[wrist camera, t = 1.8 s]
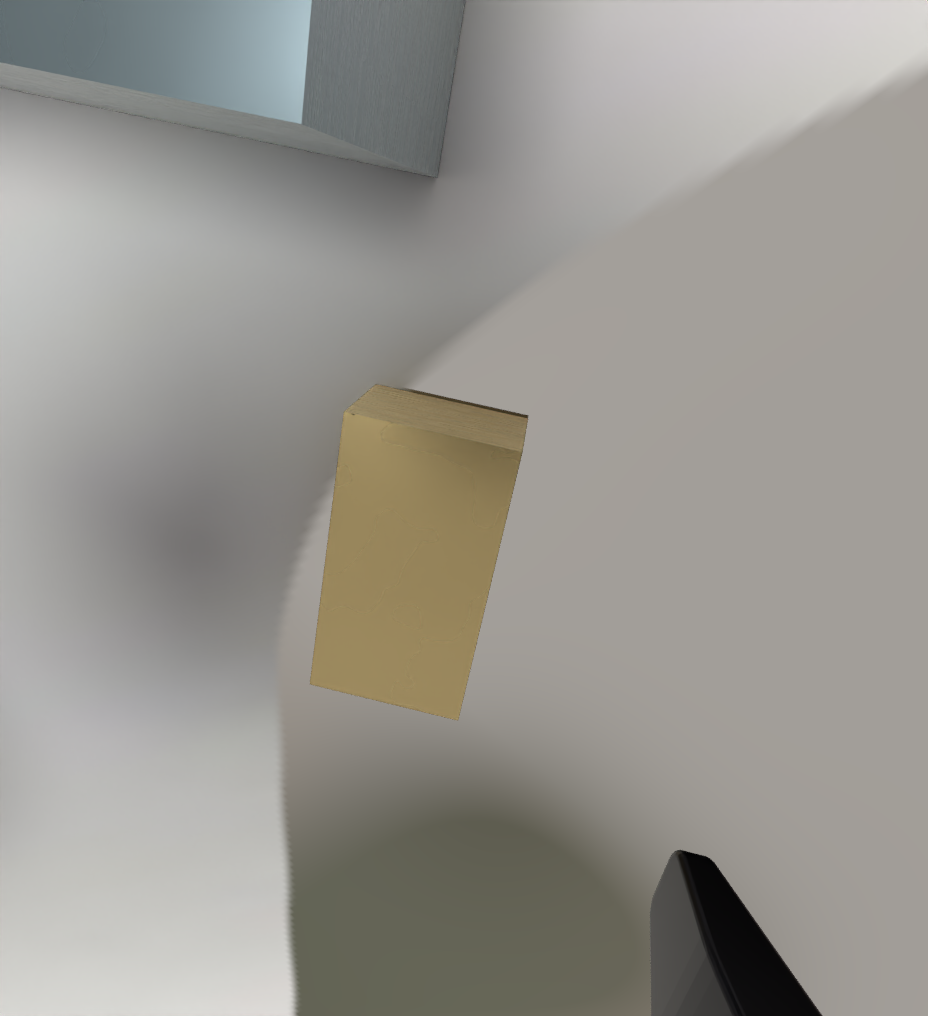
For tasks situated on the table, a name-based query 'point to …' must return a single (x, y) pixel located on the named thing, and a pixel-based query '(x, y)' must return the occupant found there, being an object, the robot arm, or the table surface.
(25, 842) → the table surface
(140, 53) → the box
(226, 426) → the table surface
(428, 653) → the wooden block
